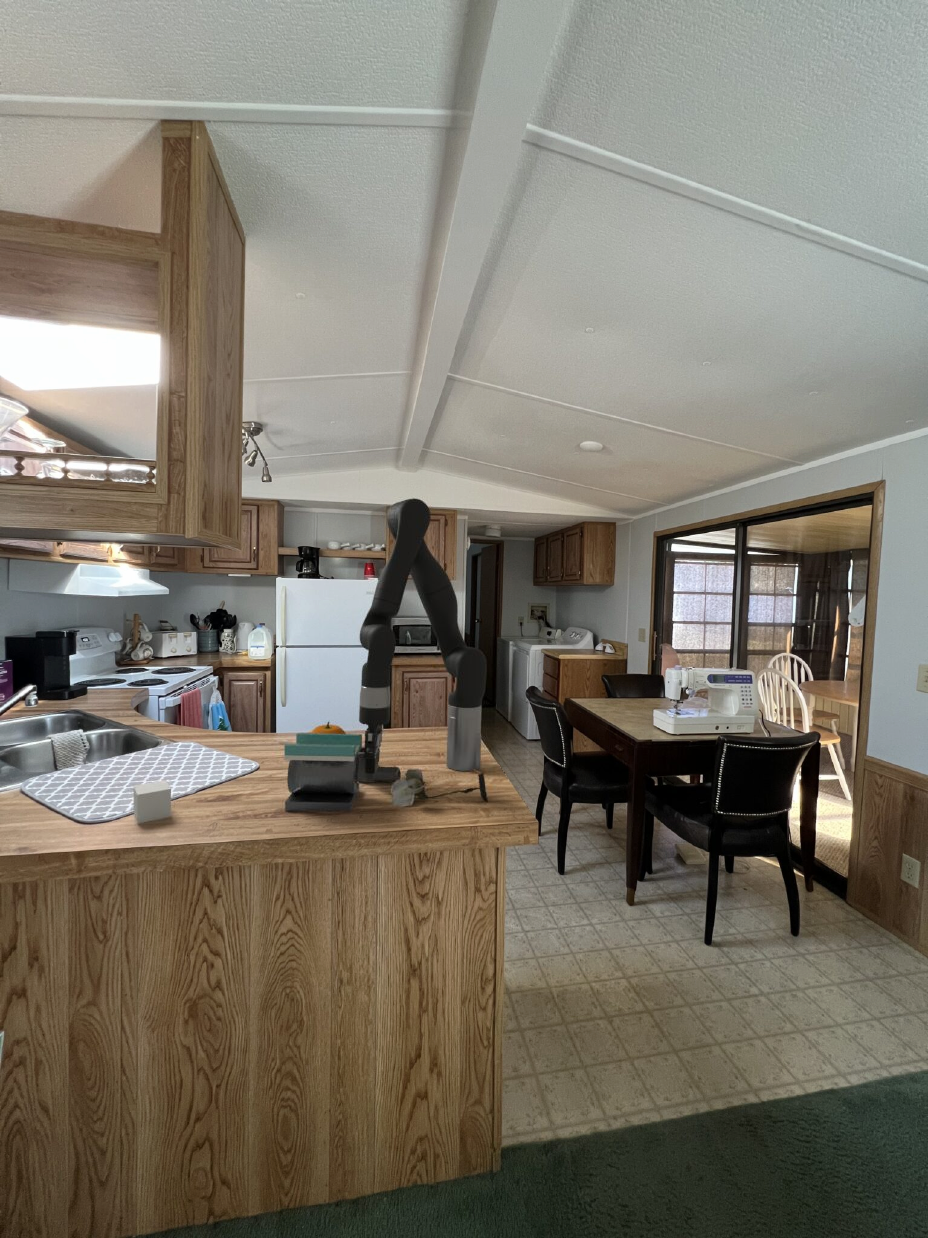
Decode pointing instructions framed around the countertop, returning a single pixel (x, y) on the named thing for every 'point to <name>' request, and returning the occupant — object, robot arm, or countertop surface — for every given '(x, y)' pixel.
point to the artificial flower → (415, 787)
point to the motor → (323, 772)
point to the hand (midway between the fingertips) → (372, 767)
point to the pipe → (376, 770)
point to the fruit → (328, 729)
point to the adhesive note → (152, 801)
